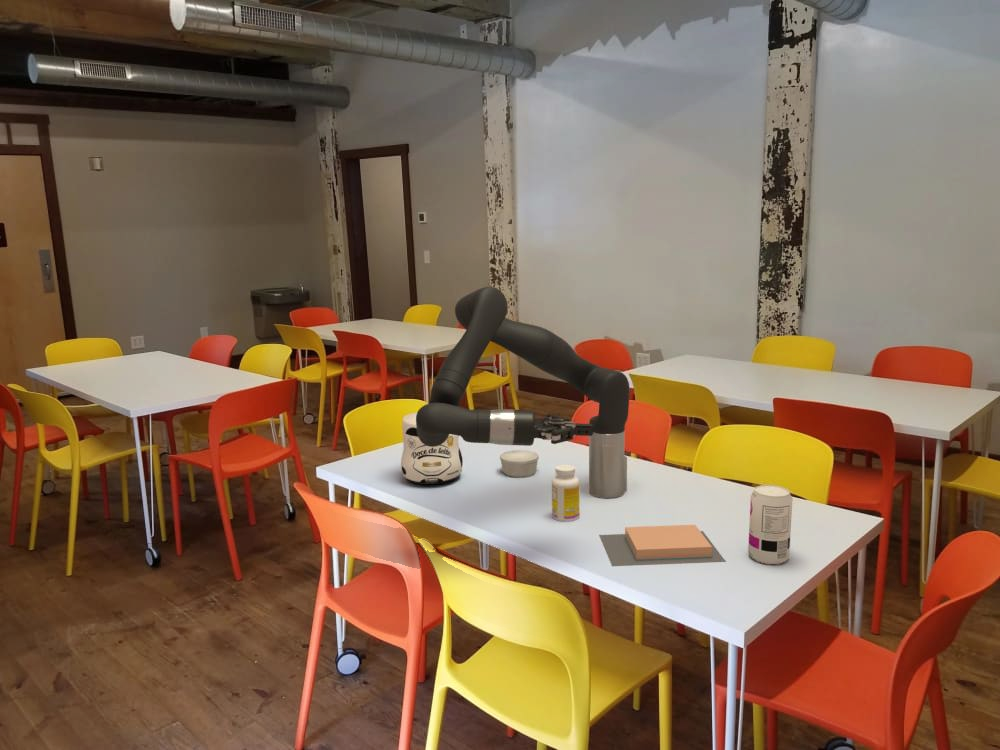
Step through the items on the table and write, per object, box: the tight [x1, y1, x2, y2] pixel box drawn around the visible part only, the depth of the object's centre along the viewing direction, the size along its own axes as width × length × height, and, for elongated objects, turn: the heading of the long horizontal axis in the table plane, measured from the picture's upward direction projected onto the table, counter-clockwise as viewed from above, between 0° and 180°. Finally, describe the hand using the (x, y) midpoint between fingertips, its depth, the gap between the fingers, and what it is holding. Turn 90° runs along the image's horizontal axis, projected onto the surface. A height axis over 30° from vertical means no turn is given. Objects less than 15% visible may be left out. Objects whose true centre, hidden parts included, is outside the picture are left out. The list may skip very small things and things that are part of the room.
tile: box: [624, 524, 712, 561], centre depth 167 cm, size 2×12×16 cm
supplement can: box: [747, 484, 793, 565], centre depth 161 cm, size 8×8×15 cm
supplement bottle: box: [551, 464, 580, 523], centre depth 185 cm, size 7×7×13 cm
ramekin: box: [499, 449, 540, 478], centre depth 220 cm, size 11×11×5 cm
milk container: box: [400, 411, 463, 485], centre depth 215 cm, size 17×17×18 cm
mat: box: [598, 530, 727, 567], centre depth 168 cm, size 24×16×1 cm, turn 92°
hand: (592, 429), depth 162 cm, fingers closed
